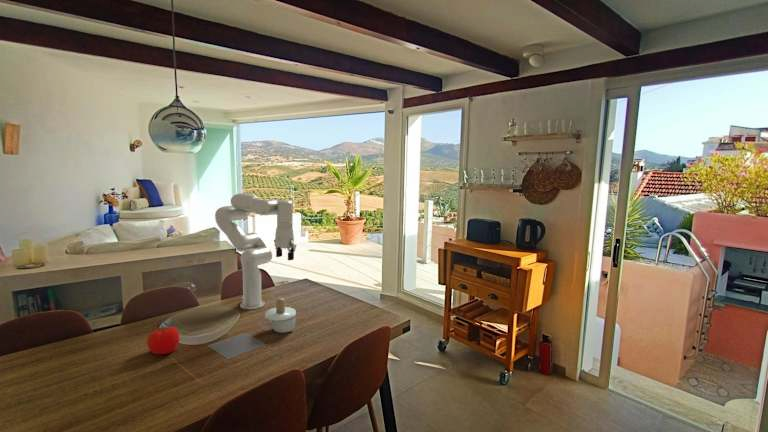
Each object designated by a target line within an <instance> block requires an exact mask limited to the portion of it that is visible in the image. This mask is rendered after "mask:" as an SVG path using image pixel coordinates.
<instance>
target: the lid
mask: <svg viewBox="0 0 768 432" xmlns="http://www.w3.org/2000/svg"><path fill="white" fill-rule="evenodd" d="M295 315H297V311H296V309H295V308H293V307H288V306H286V298H285V297H278V298H276V299H275V307H272V308H269V309H267V310H266V311H265V312H264V318H265V317H266V318H267V320H269V321H272V320H274V321H281V320H287V319H290V318H293V317H294V316H295ZM295 317H296V316H295Z"/></svg>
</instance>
